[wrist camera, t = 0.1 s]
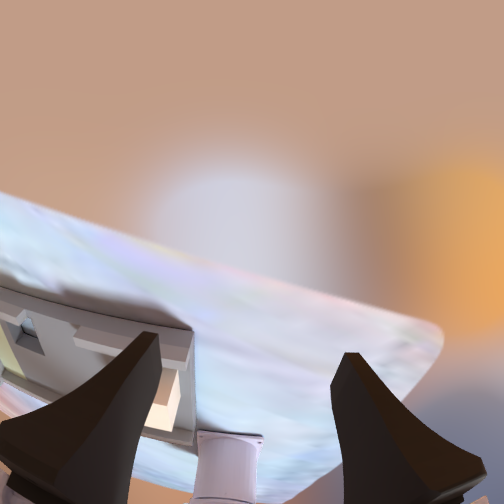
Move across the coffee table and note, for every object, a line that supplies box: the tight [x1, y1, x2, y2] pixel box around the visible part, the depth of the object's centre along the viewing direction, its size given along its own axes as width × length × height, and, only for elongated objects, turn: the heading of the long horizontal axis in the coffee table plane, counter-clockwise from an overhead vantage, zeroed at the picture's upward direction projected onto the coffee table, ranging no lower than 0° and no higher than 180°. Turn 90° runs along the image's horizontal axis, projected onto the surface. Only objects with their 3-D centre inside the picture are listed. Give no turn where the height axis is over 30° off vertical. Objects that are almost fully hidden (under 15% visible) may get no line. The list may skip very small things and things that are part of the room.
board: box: [0, 287, 197, 447], centre depth 23 cm, size 14×28×4 cm, turn 83°
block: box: [144, 367, 181, 432], centre depth 21 cm, size 4×4×4 cm
